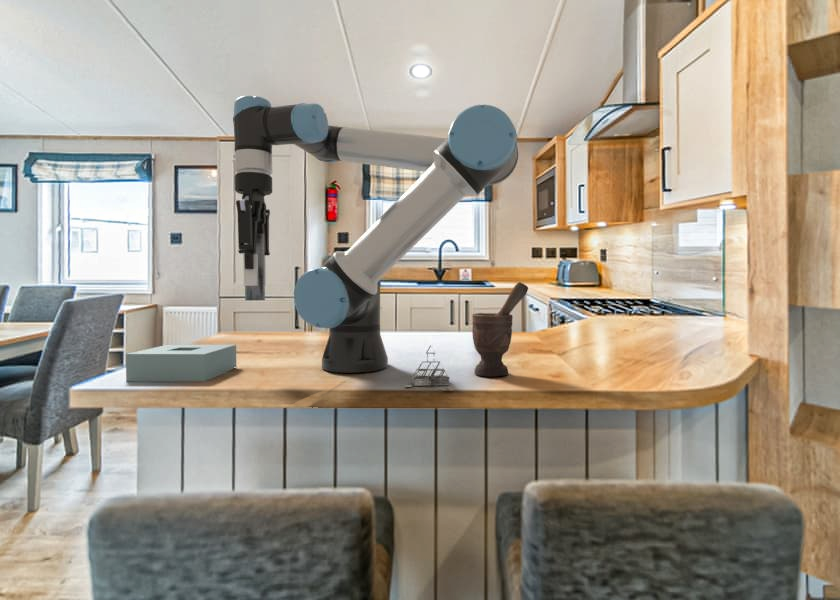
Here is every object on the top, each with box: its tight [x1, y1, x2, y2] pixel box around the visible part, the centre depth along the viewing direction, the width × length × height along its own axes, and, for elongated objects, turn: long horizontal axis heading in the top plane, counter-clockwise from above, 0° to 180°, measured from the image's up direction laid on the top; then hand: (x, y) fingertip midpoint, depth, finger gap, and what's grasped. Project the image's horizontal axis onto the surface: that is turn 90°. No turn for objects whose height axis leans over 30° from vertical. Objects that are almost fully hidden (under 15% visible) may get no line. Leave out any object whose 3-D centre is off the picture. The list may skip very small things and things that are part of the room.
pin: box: [244, 233, 266, 301], centre depth 104 cm, size 4×4×14 cm
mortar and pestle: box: [471, 281, 529, 378], centre depth 105 cm, size 12×9×20 cm
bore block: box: [125, 344, 237, 382], centre depth 107 cm, size 16×16×6 cm
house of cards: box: [404, 344, 453, 391], centre depth 95 cm, size 9×9×8 cm
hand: (255, 285), depth 104 cm, fingers closed on pin, 4 cm apart
